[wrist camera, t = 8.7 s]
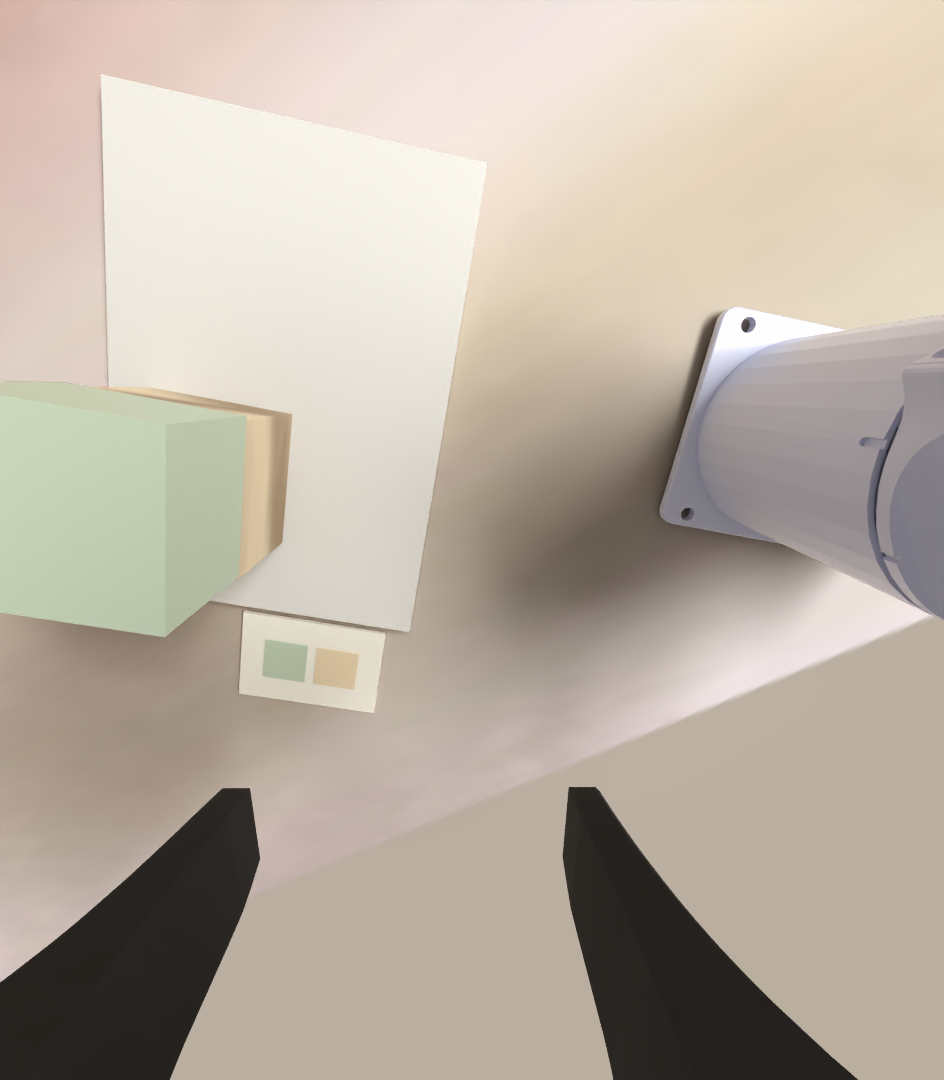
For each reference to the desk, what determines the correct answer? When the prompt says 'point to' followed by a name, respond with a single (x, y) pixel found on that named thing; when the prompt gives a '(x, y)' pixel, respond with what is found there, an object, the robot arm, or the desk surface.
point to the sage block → (116, 506)
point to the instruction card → (310, 661)
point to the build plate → (297, 319)
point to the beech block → (250, 470)
